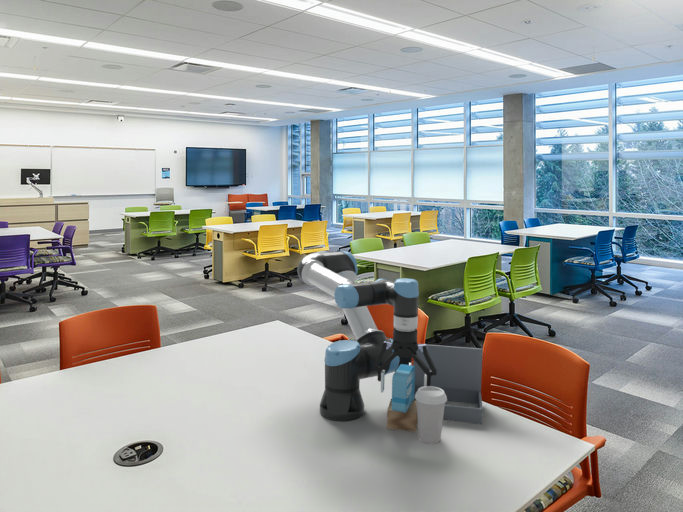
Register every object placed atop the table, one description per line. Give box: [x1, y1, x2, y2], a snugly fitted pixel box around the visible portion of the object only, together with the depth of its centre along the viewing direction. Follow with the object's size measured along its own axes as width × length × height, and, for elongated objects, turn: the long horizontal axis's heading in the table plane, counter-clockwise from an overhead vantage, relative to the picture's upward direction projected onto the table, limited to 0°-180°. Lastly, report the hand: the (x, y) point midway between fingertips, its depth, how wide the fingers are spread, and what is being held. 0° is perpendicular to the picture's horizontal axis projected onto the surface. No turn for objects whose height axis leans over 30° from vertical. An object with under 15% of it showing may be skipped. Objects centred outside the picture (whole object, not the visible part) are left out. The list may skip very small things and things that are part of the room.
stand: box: [386, 398, 418, 433], centre depth 162 cm, size 9×9×6 cm
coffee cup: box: [414, 386, 448, 445], centre depth 152 cm, size 10×10×15 cm
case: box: [409, 343, 484, 425], centre depth 171 cm, size 25×16×20 cm, turn 77°
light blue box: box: [391, 364, 415, 413], centre depth 161 cm, size 12×4×12 cm, turn 159°
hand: (403, 393), depth 161 cm, fingers open, 13 cm apart
